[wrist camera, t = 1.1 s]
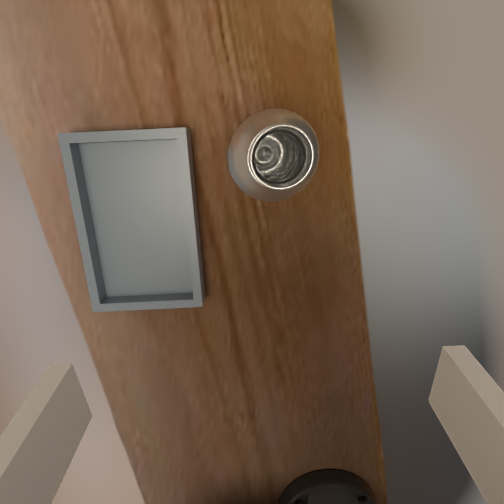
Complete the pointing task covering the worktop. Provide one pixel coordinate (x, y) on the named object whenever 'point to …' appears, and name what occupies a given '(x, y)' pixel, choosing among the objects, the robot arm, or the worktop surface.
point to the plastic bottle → (273, 155)
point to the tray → (136, 217)
